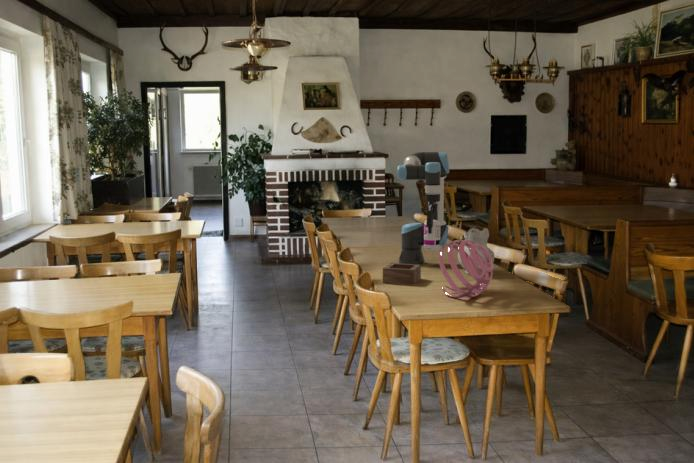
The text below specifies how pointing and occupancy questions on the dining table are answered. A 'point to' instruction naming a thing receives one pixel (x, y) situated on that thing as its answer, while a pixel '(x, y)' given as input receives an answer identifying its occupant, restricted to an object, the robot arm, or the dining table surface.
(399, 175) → the robot arm
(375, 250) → the dining table surface
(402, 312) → the dining table surface
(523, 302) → the dining table surface
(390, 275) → the dark wooden box
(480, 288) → the spiral basket
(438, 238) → the supplement can
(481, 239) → the grey rounded figure
